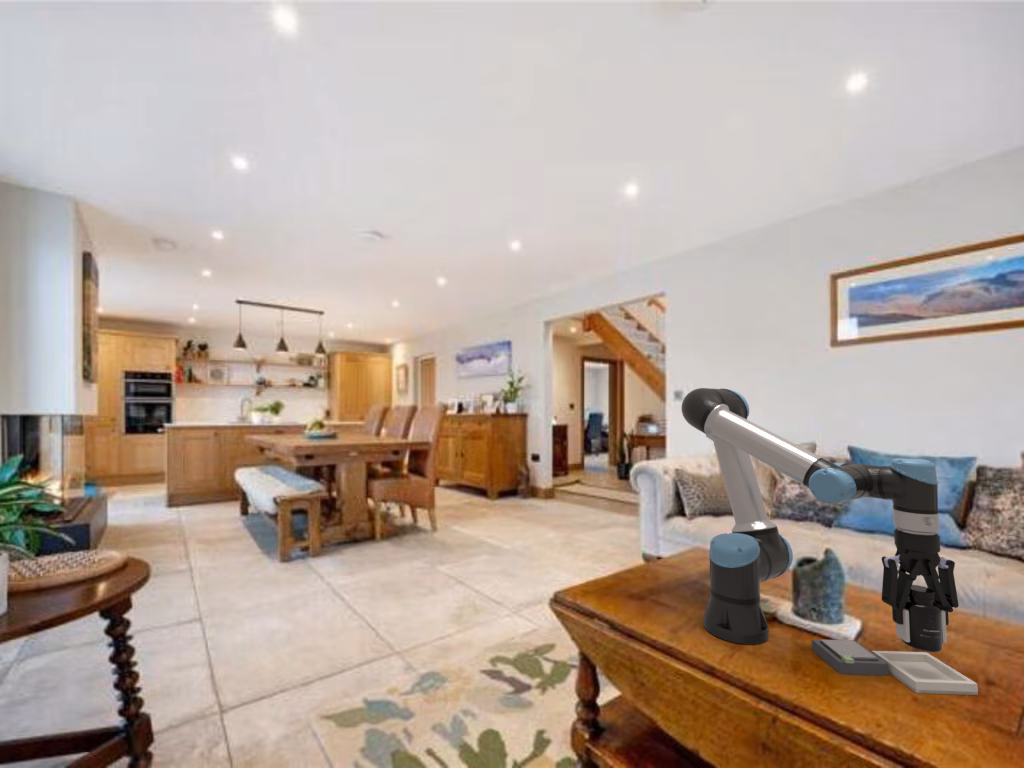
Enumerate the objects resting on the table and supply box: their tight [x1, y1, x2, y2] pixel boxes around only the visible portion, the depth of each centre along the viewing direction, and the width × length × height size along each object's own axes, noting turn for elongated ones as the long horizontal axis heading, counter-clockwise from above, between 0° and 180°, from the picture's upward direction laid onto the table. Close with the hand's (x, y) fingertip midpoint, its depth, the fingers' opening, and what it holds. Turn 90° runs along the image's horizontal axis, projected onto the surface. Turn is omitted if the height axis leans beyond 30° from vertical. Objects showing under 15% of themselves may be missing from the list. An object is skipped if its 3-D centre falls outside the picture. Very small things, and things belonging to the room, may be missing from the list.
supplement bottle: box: [900, 584, 943, 653], centre depth 99 cm, size 7×7×12 cm
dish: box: [871, 650, 979, 696], centre depth 99 cm, size 12×12×2 cm
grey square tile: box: [821, 639, 877, 661], centre depth 105 cm, size 7×7×1 cm
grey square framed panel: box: [811, 638, 889, 677], centre depth 104 cm, size 10×10×3 cm
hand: (921, 639), depth 99 cm, fingers closed on supplement bottle, 7 cm apart
